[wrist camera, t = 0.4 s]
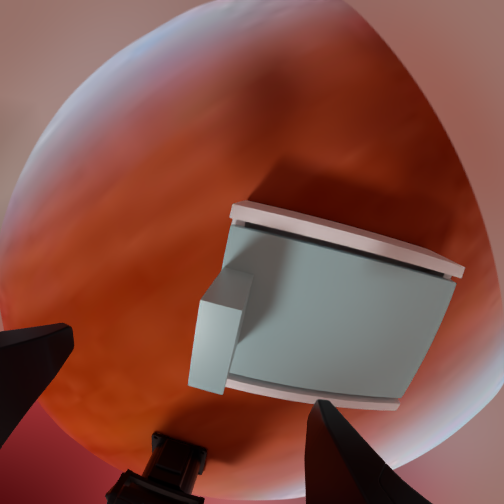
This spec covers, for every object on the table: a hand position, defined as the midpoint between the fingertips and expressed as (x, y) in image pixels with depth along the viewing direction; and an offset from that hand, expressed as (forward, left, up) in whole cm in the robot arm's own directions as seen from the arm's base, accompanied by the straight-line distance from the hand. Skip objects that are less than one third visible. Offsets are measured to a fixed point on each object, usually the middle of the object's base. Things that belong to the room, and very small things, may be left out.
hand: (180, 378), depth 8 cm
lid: (0, -7, -8) cm, 10 cm away
